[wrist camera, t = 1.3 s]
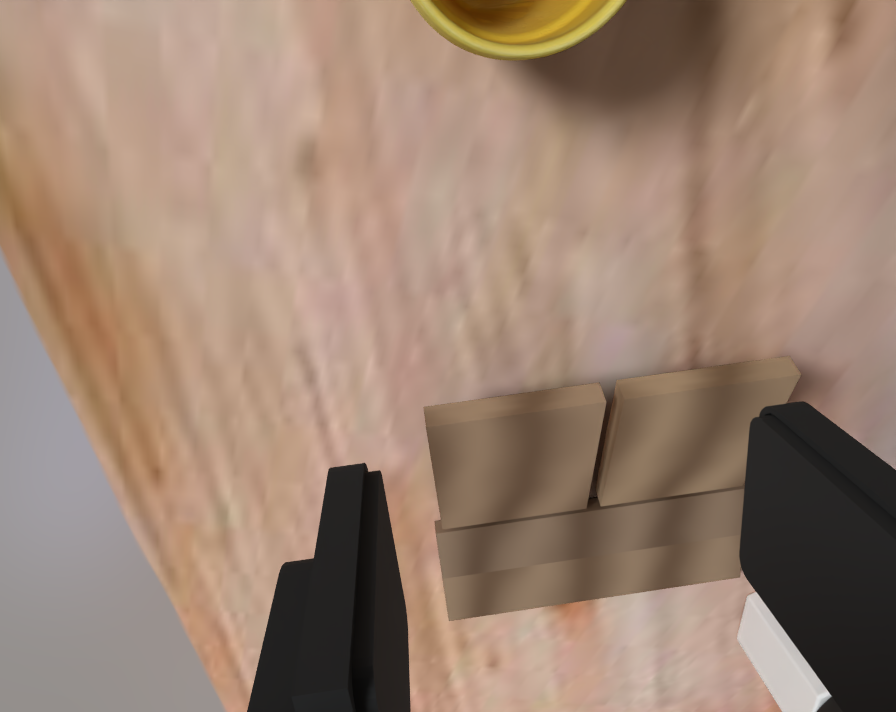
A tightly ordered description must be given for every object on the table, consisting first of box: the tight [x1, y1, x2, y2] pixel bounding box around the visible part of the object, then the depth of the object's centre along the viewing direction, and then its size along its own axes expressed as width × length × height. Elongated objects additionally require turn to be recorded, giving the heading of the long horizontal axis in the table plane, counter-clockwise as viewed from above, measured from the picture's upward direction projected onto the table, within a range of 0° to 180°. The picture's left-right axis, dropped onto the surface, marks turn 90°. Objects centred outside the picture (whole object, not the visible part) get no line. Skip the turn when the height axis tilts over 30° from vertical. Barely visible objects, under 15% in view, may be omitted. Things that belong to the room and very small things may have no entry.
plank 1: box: [424, 383, 606, 529], centre depth 40 cm, size 10×12×1 cm
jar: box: [737, 592, 843, 712], centre depth 46 cm, size 9×8×12 cm
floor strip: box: [435, 484, 745, 621], centre depth 47 cm, size 22×8×1 cm, turn 96°
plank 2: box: [595, 356, 801, 506], centre depth 40 cm, size 10×12×1 cm
